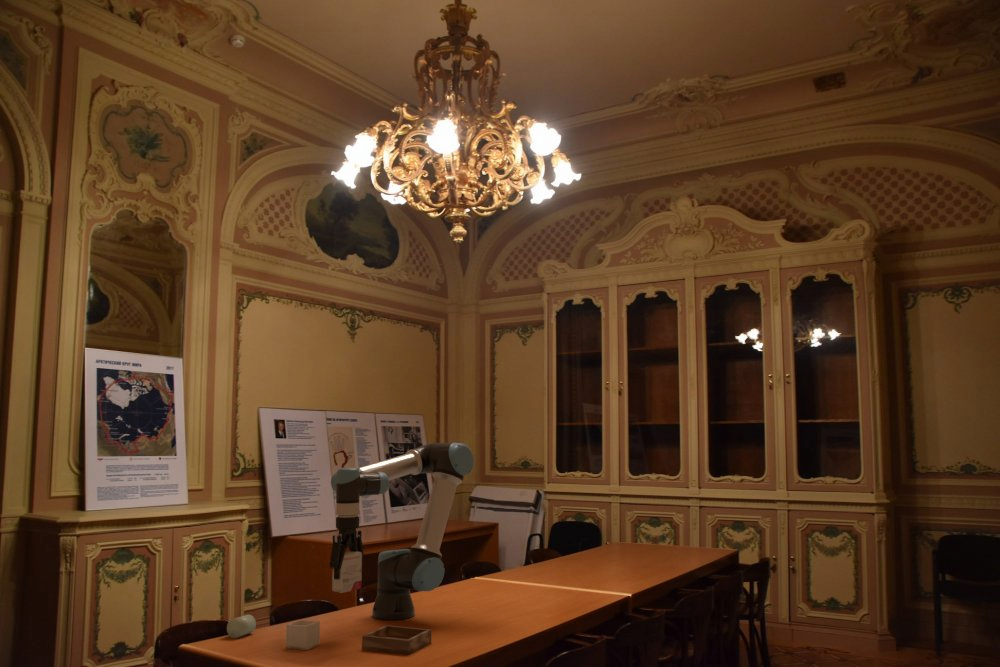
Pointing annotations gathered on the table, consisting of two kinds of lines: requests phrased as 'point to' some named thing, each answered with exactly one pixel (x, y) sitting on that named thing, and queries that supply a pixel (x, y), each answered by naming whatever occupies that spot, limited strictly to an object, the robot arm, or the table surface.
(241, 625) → the toppled green cylinder
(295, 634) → the small grey bin
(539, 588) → the table surface
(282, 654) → the table surface
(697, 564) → the table surface
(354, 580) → the ink box
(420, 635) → the crate
